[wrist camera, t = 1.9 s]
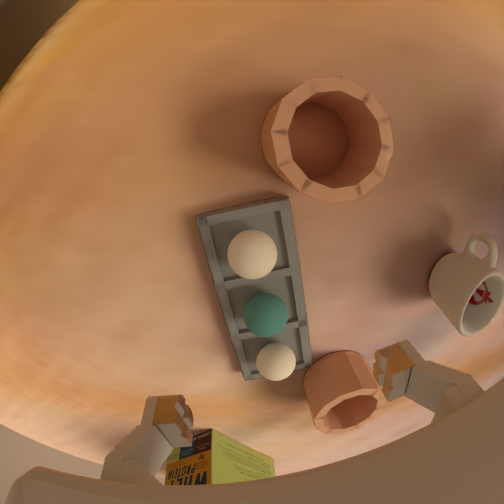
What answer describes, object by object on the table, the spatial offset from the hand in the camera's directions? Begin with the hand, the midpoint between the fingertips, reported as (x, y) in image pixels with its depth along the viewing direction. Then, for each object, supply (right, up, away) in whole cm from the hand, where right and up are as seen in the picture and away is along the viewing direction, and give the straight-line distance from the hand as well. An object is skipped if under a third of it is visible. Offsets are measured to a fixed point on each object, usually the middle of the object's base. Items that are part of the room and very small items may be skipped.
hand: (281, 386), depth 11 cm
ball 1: (-1, +5, +13) cm, 14 cm away
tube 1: (+4, +15, +12) cm, 20 cm away
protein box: (-6, -29, +29) cm, 41 cm away
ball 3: (+1, -6, +17) cm, 18 cm away
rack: (0, +1, +18) cm, 18 cm away
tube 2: (+9, -10, +23) cm, 27 cm away
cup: (+23, +4, +18) cm, 30 cm away
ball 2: (0, 0, +15) cm, 15 cm away
